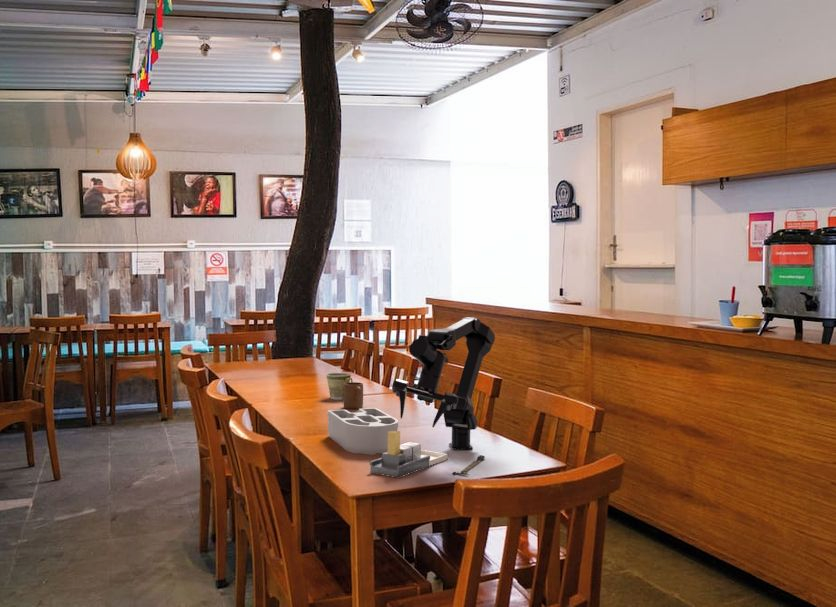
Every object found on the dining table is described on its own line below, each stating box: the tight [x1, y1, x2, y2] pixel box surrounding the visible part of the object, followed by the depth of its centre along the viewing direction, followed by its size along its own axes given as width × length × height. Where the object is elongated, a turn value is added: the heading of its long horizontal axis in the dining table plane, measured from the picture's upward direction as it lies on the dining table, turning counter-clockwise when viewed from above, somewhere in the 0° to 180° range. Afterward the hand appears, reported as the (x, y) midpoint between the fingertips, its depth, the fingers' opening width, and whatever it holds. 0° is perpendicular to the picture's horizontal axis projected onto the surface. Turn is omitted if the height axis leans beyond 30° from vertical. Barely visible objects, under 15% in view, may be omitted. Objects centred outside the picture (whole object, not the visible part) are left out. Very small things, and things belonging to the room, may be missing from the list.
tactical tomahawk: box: [452, 454, 486, 478], centre depth 219 cm, size 21×7×1 cm, turn 156°
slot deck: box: [369, 456, 430, 478], centre depth 215 cm, size 15×10×3 cm, turn 147°
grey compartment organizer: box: [327, 407, 399, 455], centre depth 244 cm, size 17×28×9 cm, turn 21°
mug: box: [343, 381, 364, 410], centre depth 304 cm, size 12×8×9 cm, turn 22°
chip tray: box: [421, 449, 449, 467], centre depth 225 cm, size 10×9×2 cm
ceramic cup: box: [326, 372, 354, 401], centre depth 325 cm, size 13×10×10 cm
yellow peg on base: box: [381, 430, 405, 467], centre depth 212 cm, size 3×6×9 cm, turn 57°
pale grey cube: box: [400, 444, 412, 463], centre depth 215 cm, size 4×4×4 cm
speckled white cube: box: [401, 441, 422, 461], centre depth 219 cm, size 4×4×4 cm
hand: (416, 422), depth 220 cm, fingers open, 9 cm apart
